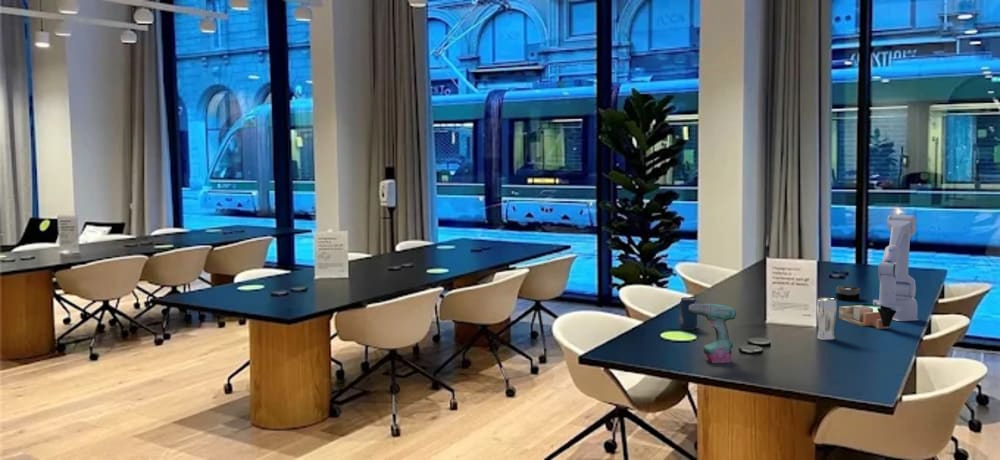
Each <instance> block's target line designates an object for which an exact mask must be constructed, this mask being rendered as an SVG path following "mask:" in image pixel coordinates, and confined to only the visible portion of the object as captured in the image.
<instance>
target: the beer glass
mask: <svg viewBox="0 0 1000 460" xmlns="http://www.w3.org/2000/svg"><path fill="white" fill-rule="evenodd" d="M837 308H838V306H837V298H836V299H835V298H834V297H833V298H831V297H819V298H817V302H816V317H817V318H816V319H817V323H818V324H817V327H818V332H817V336H816V337H817V339H818V340H821V341H833V340H835V333H834V332H835V331H834V328H835V323H836V319H837V312H838V311H837Z"/></svg>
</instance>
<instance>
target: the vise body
mask: <svg viewBox="0 0 1000 460" xmlns="http://www.w3.org/2000/svg"><path fill="white" fill-rule="evenodd" d="M854 307H866V306H865V305H845V306H839V307H838V319H839V320H842V321H846V322H848V323H851V324H854V325H857V326H859V327H866V326H865V324H864V323H861V322H858V321H855V320H853V315H854Z"/></svg>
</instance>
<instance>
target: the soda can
mask: <svg viewBox="0 0 1000 460" xmlns="http://www.w3.org/2000/svg"><path fill="white" fill-rule="evenodd" d="M691 304H698V302H697V299H696V297H690V296H686V297H685V296H684V297H681V298H680V301H679V327H680V328H681V329H683V330H694V329H696V328H697V327H698V314H694V313H692V312H690V311H689V305H691Z"/></svg>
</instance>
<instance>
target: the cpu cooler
mask: <svg viewBox="0 0 1000 460" xmlns="http://www.w3.org/2000/svg"><path fill="white" fill-rule="evenodd" d="M860 294H861V288H859V287H857V286H849V285H838V286H836V288H835V298H836V300H838V301H843V302H845V301H846V302H853V301H854V302H858V301H860Z"/></svg>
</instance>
